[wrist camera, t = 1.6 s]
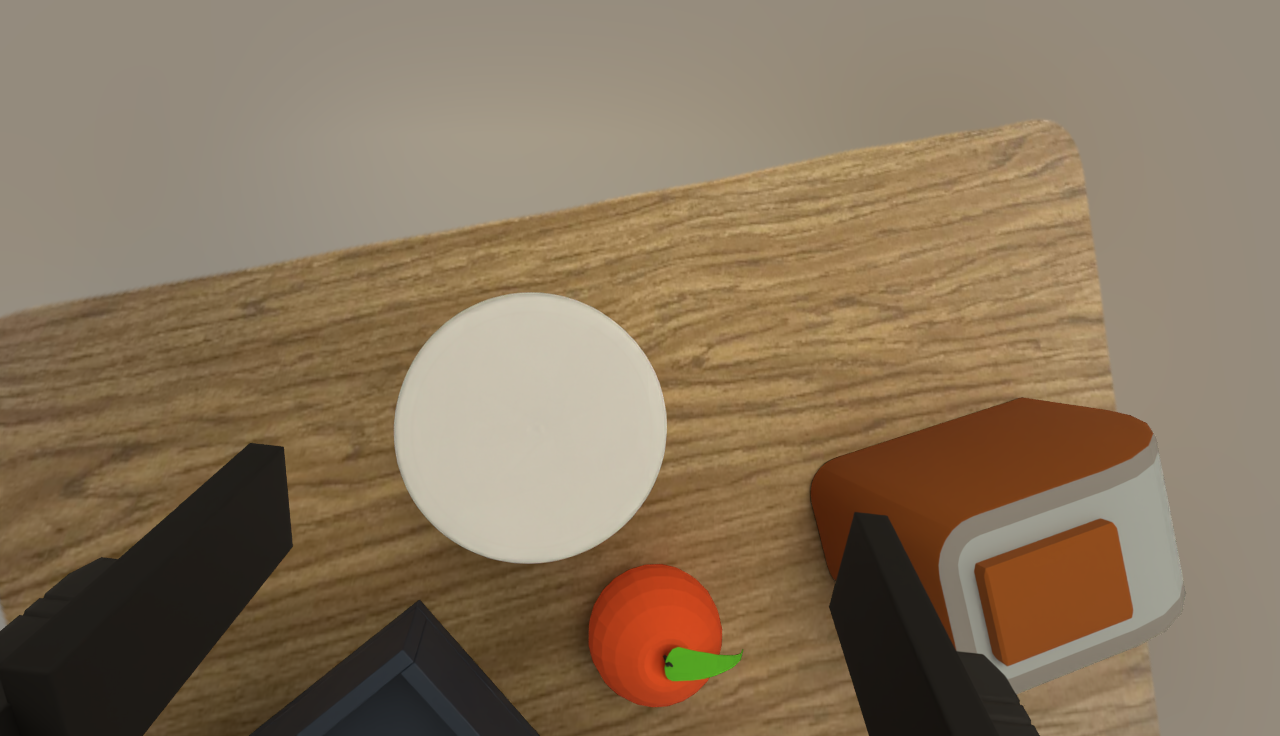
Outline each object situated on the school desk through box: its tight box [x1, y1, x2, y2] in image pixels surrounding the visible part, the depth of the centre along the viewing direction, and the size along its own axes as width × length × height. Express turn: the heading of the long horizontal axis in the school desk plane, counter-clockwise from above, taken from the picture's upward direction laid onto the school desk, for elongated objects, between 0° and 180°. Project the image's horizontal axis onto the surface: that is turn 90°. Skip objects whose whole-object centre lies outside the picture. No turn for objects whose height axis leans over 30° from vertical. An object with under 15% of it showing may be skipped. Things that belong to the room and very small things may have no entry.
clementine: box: [589, 564, 743, 707], centre depth 37 cm, size 8×7×7 cm
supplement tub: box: [394, 293, 667, 564], centre depth 31 cm, size 10×10×15 cm
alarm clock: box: [811, 398, 1186, 694], centre depth 36 cm, size 15×8×14 cm, turn 105°
